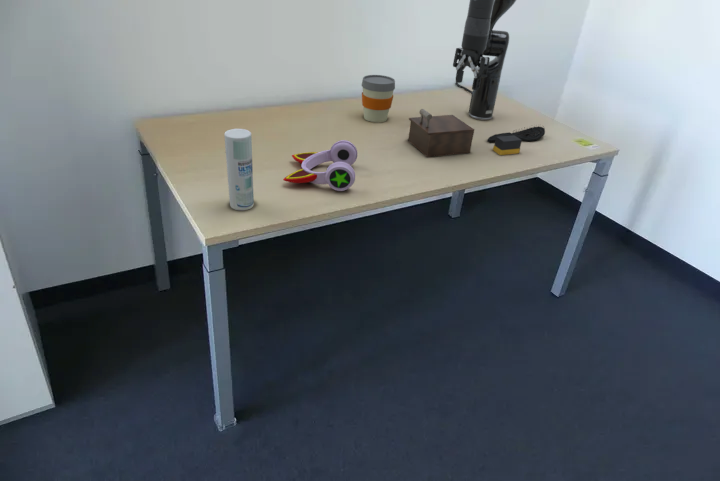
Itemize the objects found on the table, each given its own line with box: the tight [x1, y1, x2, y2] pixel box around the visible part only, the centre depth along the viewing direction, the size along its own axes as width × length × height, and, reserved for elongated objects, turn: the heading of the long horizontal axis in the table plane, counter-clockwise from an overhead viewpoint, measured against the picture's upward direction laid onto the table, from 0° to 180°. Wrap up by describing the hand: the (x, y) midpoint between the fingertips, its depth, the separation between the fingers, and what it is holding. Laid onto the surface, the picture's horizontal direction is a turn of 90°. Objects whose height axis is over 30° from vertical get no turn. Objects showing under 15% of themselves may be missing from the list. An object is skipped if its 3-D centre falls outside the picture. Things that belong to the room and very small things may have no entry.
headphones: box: [283, 139, 358, 192], centre depth 156 cm, size 20×10×20 cm
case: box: [407, 121, 475, 158], centre depth 182 cm, size 17×15×8 cm
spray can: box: [223, 128, 255, 211], centre depth 135 cm, size 6×6×20 cm
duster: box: [492, 135, 522, 156], centre depth 184 cm, size 8×4×5 cm, turn 111°
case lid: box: [408, 108, 475, 135], centre depth 179 cm, size 17×15×5 cm
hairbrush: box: [486, 125, 546, 143], centre depth 196 cm, size 8×4×25 cm
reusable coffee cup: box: [361, 74, 396, 123], centre depth 201 cm, size 13×13×15 cm
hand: (466, 86), depth 169 cm, fingers open, 8 cm apart
